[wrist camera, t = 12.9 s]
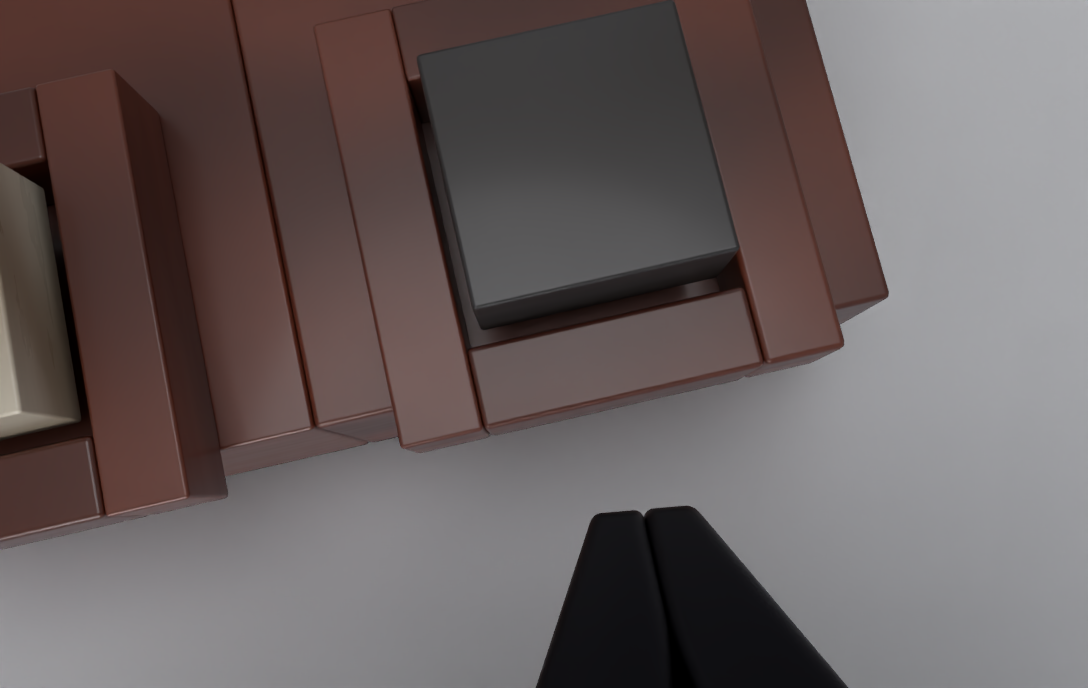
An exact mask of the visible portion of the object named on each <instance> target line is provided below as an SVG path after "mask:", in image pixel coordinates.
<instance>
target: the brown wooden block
mask: <svg viewBox="0 0 1088 688" xmlns="http://www.w3.org/2000/svg"><path fill="white" fill-rule="evenodd" d="M231 1H232V6H233V11H234V16H235V21H236V26H237V31H238V36H239V41H240V46H241V51H242V57H243V62H244V67H245V72H246V77H247V82H248V87H249V92H250V97H251V102H252V107H253V112H254V117H255V123H256V128H257V133H258V138H259V143H260V148H261V153H262V158H263V163H264V168H265V173H266V178H267V184H268V189H269V194H270V199H271V204H272V209H273V214H274V219H275V224H276V229H277V234H278V239H279V244H280V250H281V255H282V260H283V265H284V270H285V275H286V280H287V285H288V290H289V295H290V300H291V305H292V310H293V316H294V321H295V326H296V331H297V336H298V341H299V346H300V351H301V356H302V361H303V366H304V371H305V377H306V382H307V387H308V392H309V397H310V402H311V407H312V412H313V417H314V422H315V425H316V426H317V427H318V428H321V429H325V430H329V431H332V432H336V433H340V434H343V435H347V436H351V437H354V438H358V439H362V440H365V441H369V442H377V441H381V440H386V439H390V438H394V437H398V438H399V442H400V446H401V447H402V448H403V449H406V450H410V451H413V452H417V453H423V452H427V451H432V450H436V449H440V448H445V447H449V446H453V445H458V444H462V443H466V442H471V441H475V440H479V439H484V438H487V437H489V435H490V434H491V435H495V436H496V435H501V434H505V433H509V432H514V431H518V430H522V429H527V428H531V427H536V426H540V425H544V424H549V423H553V422H557V421H562V420H566V419H570V418H575V417H579V416H583V415H588V414H592V413H596V412H601V411H605V410H609V409H614V408H618V407H622V406H627V405H631V404H635V403H640V402H644V401H648V400H653V399H657V398H661V397H666V396H670V395H674V394H679V393H683V392H687V391H692V390H696V389H700V388H705V387H709V386H713V385H718V384H722V383H726V382H731V381H735V380H738V379H740V378H742V377H744V376H745V377H752V376H757V375H761V374H765V373H770V372H774V371H778V370H783V369H787V368H791V367H796V366H800V365H804V364H809V363H812V362H814V361H816V360H818V359H820V358H822V357H824V356H826V355H828V354H830V353H832V352H834V351H837V350H839V349H840V348H842V347H843V346H844V338H843V335H842V331H841V327H840V324H842V323H844V322H845V321H847V320H849V319H851V318H852V317H854V316H856V315H858V314H859V313H861V312H863V311H865V310H867V309H868V308H870V307H872V306H874V305H875V304H877V303H879V302H881V301H882V300H884V299H886V298H887V297H888V294H889V291H888V288H887V284H886V281H885V277H884V274H883V270H882V267H881V263H880V260H879V256H878V253H877V249H876V246H875V242H874V239H873V235H872V232H871V228H870V225H869V221H868V218H867V214H866V211H865V207H864V204H863V200H862V197H861V193H860V189H859V186H858V182H857V179H856V175H855V172H854V168H853V165H852V161H851V158H850V154H849V151H848V147H847V144H846V140H845V137H844V133H843V130H842V126H841V123H840V119H839V116H838V112H837V109H836V105H835V102H834V98H833V95H832V91H831V88H830V84H829V81H828V77H827V74H826V70H825V66H824V63H823V59H822V56H821V52H820V49H819V45H818V42H817V38H816V35H815V31H814V28H813V24H812V21H811V17H810V14H809V10H808V7H807V3H806V0H673V1H674V2H675V4H676V8H677V12H678V15H679V19H680V23H681V27H682V31H683V34H684V38H685V42H686V46H687V49H688V53H689V57H690V61H691V65H692V68H693V72H694V76H695V80H696V83H697V87H698V91H699V95H700V99H701V102H702V106H703V110H704V114H705V117H706V121H707V125H708V129H709V133H710V136H711V140H712V144H713V148H714V152H715V155H716V159H717V163H718V167H719V170H720V174H721V178H722V182H723V186H724V189H725V193H726V197H727V201H728V204H729V208H730V212H731V216H732V220H733V223H734V227H735V231H736V235H737V238H738V242H739V250H738V251H737V253H736V254H735V255H734V256H733V258H732V259H731V260H730V261H729V263H728V264H727V265H726V267H725V268H724V269H723V270H722V272H721V273H720V274H719V275H718V276H717V277H716V278H712V279H707V280H703V281H698V282H694V283H690V284H685V285H681V286H676V287H672V288H668V289H663V290H659V291H654V292H650V293H646V294H641V295H637V296H632V297H628V298H624V299H619V300H615V301H610V302H606V303H602V304H597V305H593V306H588V307H584V308H580V309H575V310H571V311H566V312H562V313H558V314H553V315H549V316H544V317H540V318H536V319H531V320H527V321H522V322H518V323H514V324H509V325H505V326H500V327H496V328H491V329H487V330H482V329H481V328H480V326H479V324H478V321H477V319H476V316H475V314H474V311H473V309H472V307H471V302H470V298H469V293H468V289H467V284H466V280H465V275H464V271H463V266H462V262H461V257H460V253H459V248H458V244H457V239H456V235H455V230H454V226H453V221H452V217H451V212H450V208H449V203H448V199H447V194H446V190H445V186H444V181H443V177H442V172H441V168H440V163H439V159H438V154H437V150H436V145H435V141H434V136H433V132H432V127H431V123H430V118H429V114H428V109H427V105H426V100H425V96H424V91H423V87H422V82H421V78H420V73H419V69H418V65H417V56H418V55H420V54H425V53H429V52H434V51H438V50H443V49H448V48H452V47H457V46H461V45H466V44H470V43H475V42H480V41H484V40H489V39H493V38H498V37H503V36H507V35H512V34H516V33H521V32H525V31H530V30H535V29H539V28H544V27H548V26H553V25H557V24H562V23H567V22H571V21H576V20H580V19H585V18H589V17H594V16H599V15H603V14H608V13H612V12H617V11H622V10H626V9H631V8H635V7H640V6H644V5H649V4H654V3H658V2H663V1H667V0H231Z"/></svg>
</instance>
